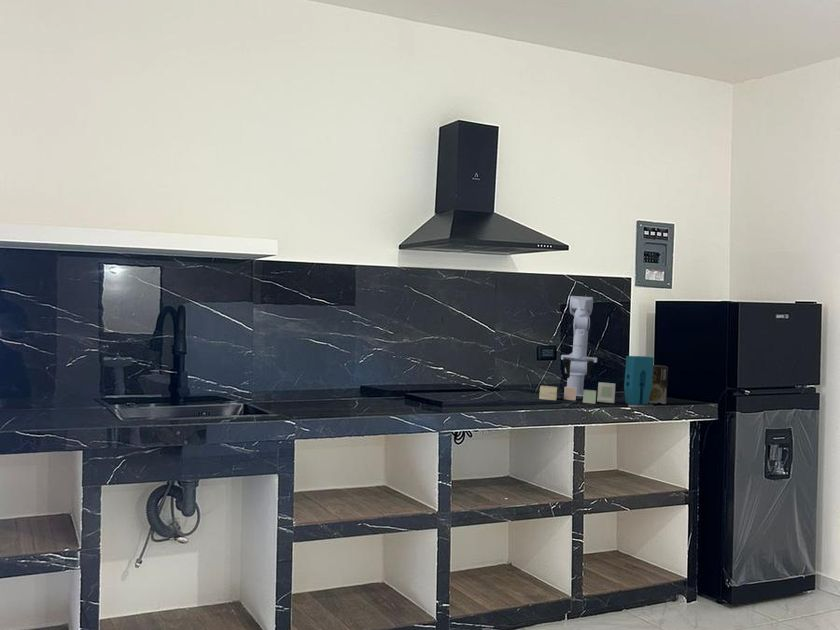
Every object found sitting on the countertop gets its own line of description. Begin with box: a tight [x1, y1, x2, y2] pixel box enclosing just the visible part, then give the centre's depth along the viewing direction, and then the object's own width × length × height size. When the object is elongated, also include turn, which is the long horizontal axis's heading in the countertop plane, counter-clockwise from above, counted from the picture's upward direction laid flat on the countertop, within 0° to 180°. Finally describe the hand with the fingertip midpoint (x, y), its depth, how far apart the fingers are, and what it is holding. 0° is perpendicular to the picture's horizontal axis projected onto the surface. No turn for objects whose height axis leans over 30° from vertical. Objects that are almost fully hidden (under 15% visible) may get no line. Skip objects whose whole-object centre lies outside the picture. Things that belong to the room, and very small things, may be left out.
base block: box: [538, 385, 558, 401], centre depth 368 cm, size 7×7×5 cm
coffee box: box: [648, 364, 669, 405], centre depth 379 cm, size 9×6×16 cm
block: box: [623, 355, 655, 406], centre depth 370 cm, size 12×5×20 cm, turn 120°
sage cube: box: [582, 389, 597, 404], centre depth 364 cm, size 5×5×5 cm
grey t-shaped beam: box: [596, 381, 616, 404], centre depth 370 cm, size 4×7×8 cm, turn 80°
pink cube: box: [563, 386, 577, 401], centre depth 371 cm, size 5×5×5 cm
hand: (577, 378), depth 360 cm, fingers open, 7 cm apart
